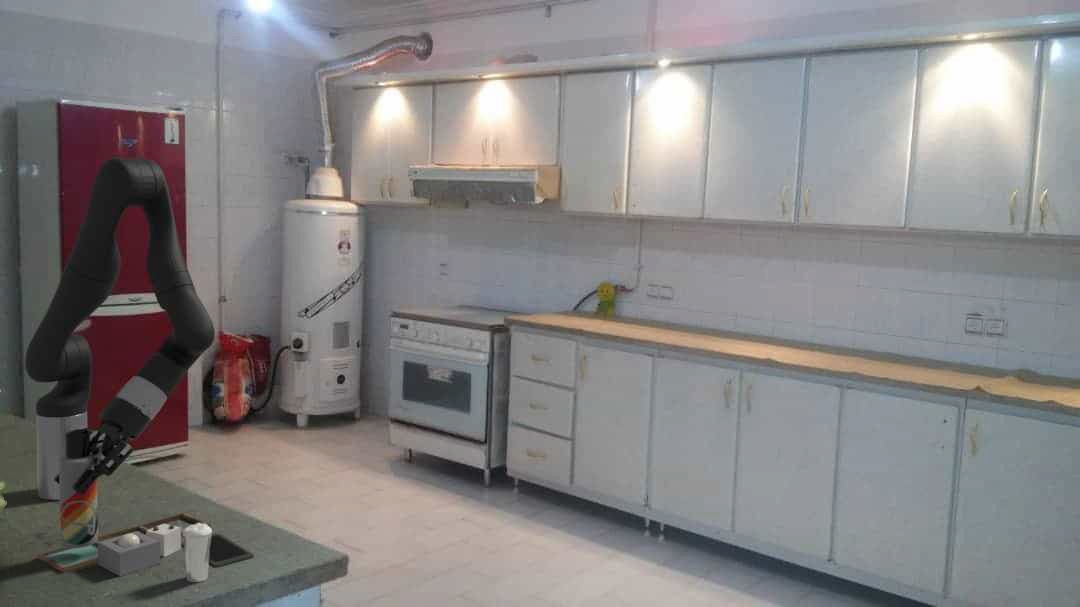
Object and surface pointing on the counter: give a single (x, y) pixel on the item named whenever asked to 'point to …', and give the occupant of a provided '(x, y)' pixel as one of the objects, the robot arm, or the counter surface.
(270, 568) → the counter surface
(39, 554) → the track
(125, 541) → the dome
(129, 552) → the button box
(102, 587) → the counter surface
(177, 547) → the die
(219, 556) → the cell phone
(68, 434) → the lotion bottle
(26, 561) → the counter surface
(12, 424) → the counter surface
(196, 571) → the milkshake
